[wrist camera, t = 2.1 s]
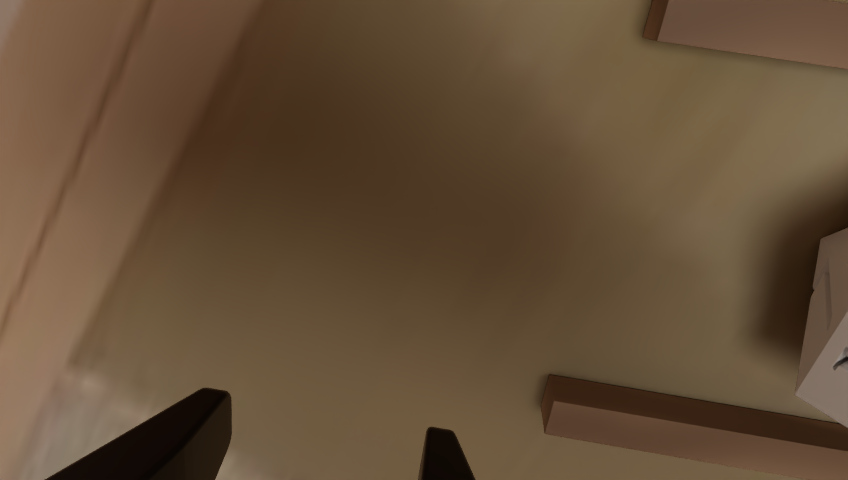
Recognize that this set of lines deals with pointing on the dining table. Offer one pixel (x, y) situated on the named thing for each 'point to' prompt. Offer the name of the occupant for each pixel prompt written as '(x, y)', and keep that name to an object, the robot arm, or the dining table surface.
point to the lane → (694, 419)
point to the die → (827, 333)
